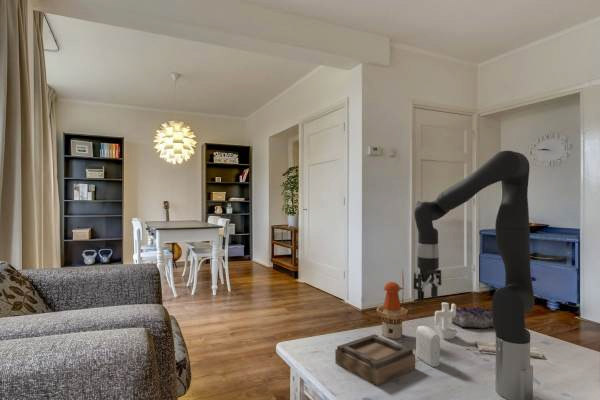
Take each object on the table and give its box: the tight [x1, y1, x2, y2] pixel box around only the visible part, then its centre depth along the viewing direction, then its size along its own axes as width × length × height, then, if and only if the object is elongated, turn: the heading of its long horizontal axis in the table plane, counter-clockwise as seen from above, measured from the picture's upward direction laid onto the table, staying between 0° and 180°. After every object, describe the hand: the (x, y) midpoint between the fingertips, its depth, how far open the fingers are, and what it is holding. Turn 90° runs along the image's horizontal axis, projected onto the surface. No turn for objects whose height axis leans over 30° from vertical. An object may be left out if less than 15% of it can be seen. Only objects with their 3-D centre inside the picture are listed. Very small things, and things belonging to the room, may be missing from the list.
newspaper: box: [474, 340, 544, 359], centre depth 142 cm, size 23×12×2 cm, turn 73°
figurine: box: [433, 302, 459, 340], centre depth 156 cm, size 7×9×15 cm
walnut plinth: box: [334, 333, 416, 387], centre depth 128 cm, size 20×20×6 cm
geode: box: [451, 306, 495, 330], centre depth 171 cm, size 20×12×10 cm, turn 89°
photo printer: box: [415, 325, 441, 368], centre depth 132 cm, size 10×4×12 cm, turn 17°
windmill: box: [376, 268, 409, 340], centre depth 156 cm, size 17×14×30 cm
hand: (427, 299), depth 132 cm, fingers open, 8 cm apart
